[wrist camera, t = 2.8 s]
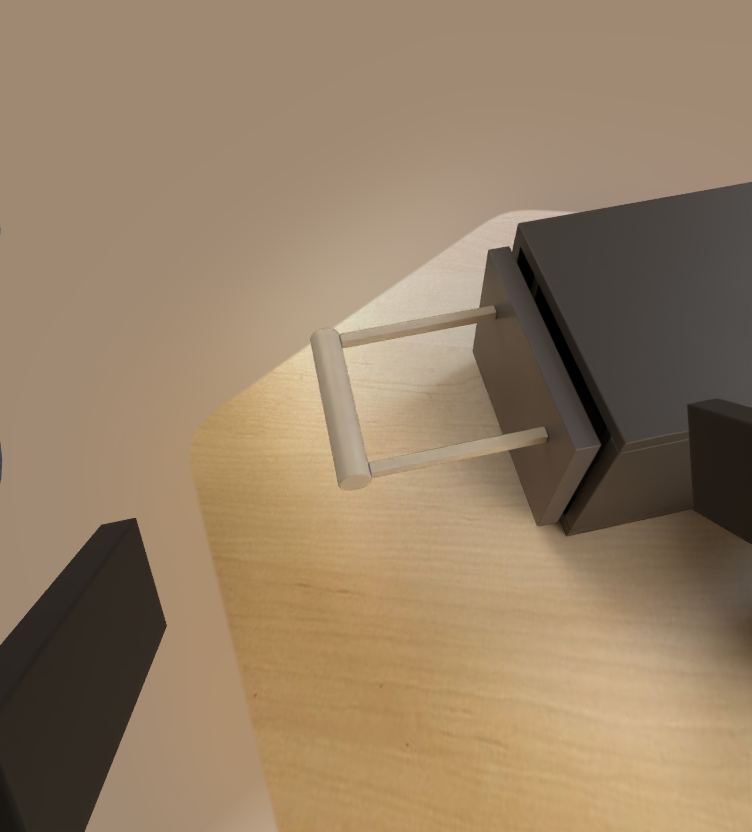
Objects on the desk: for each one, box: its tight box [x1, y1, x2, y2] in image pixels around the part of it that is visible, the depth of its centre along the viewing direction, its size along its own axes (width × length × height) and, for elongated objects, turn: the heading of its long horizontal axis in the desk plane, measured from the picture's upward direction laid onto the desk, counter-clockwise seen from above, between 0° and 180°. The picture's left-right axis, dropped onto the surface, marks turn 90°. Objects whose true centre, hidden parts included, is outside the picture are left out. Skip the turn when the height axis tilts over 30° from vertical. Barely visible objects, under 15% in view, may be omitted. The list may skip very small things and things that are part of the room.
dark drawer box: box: [512, 182, 752, 536], centre depth 34 cm, size 15×14×11 cm
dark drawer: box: [310, 246, 611, 526], centre depth 34 cm, size 24×13×9 cm, turn 102°
